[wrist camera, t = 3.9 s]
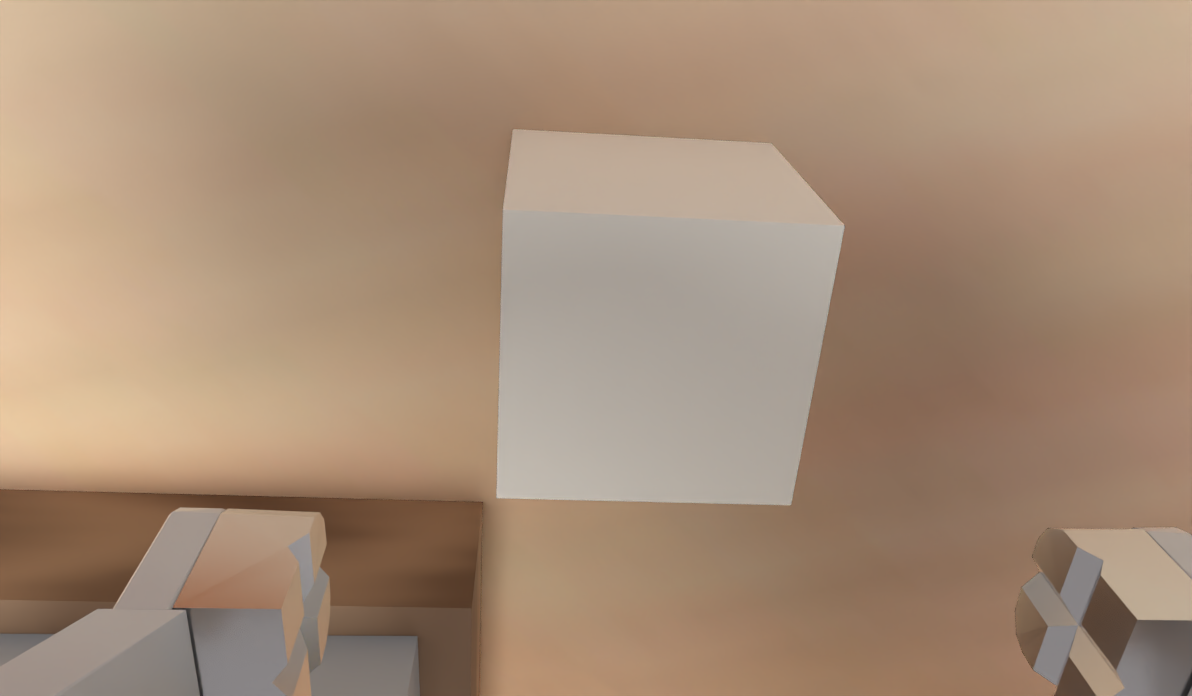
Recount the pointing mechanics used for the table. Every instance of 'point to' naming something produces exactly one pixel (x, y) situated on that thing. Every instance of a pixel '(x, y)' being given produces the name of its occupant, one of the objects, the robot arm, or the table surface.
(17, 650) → the grey block
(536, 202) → the cream block
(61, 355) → the table surface
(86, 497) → the walnut block
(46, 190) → the table surface
